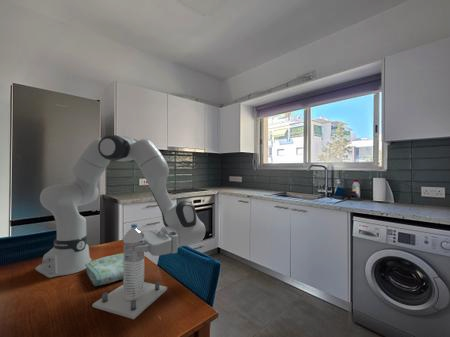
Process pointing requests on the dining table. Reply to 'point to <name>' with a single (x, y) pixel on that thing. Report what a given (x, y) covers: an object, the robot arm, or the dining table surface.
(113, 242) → the dining table surface
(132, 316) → the bottle stand
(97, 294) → the dining table surface
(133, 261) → the water bottle
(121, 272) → the towel
